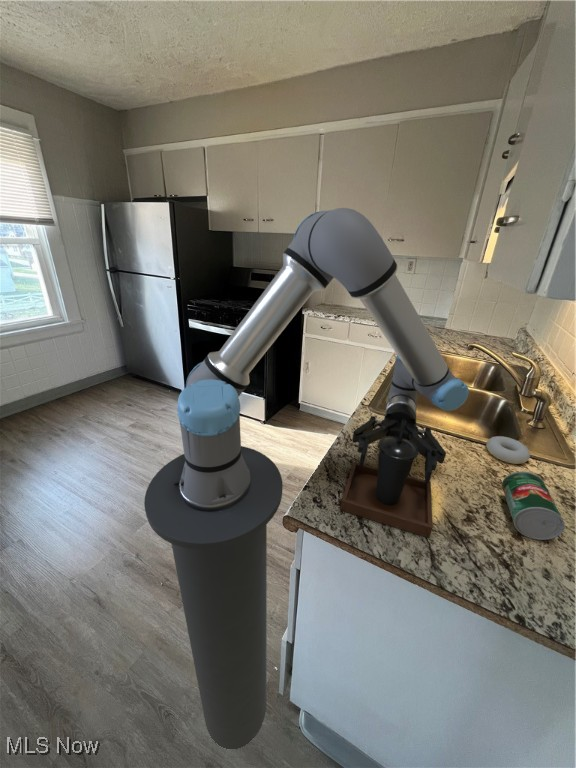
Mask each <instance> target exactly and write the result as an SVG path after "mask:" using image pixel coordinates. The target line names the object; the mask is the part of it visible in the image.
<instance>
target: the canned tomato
mask: <svg viewBox="0 0 576 768" xmlns="http://www.w3.org/2000/svg"><path fill="white" fill-rule="evenodd" d="M501 489H502V492H503V494H504V497H505V500H506V501H505V502H506V504H507V507H508V511H509V513H510V516H511V519H512V522H513V525H514V528H515V529H516V530H517V532H519V533H520V534H521V535H523V536H525V537H527V538H529V539H532V540H538V541H545V540H551V539H556V538H557V537H559V536H560V535H562V533H564V532H565V531H564V530H565V527H566V525H565V524H566V523H565V521H564V519H563V517H562V516H561V513H560V511H559V509H558V507H557V505H556V503H555V501H554V499H553V498H552V495H551V494H550V492H549V490H548V487H547V486H546V483H545V481H544V480H543V479H542V478H541V477H540V476H539V475H537V474H536V473H532V472H528V471H515V472H512V473H510V474H507V475H506V476H505V477H504V478H503V480H502V482H501Z"/></svg>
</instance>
